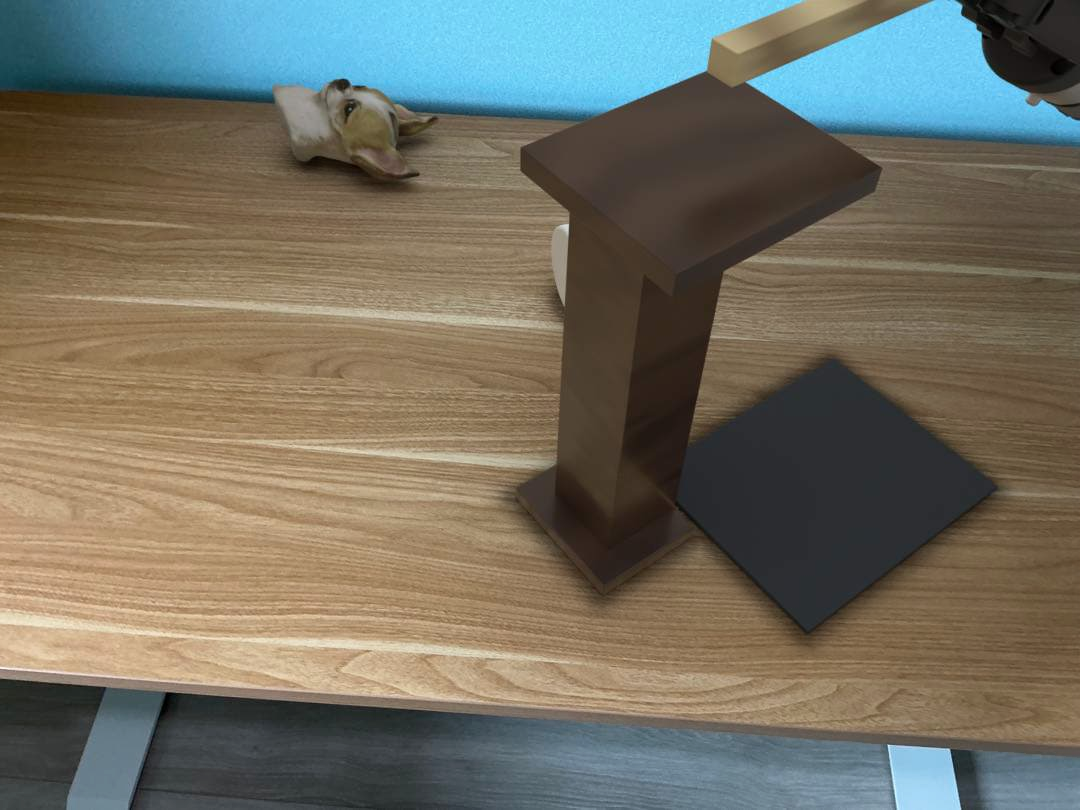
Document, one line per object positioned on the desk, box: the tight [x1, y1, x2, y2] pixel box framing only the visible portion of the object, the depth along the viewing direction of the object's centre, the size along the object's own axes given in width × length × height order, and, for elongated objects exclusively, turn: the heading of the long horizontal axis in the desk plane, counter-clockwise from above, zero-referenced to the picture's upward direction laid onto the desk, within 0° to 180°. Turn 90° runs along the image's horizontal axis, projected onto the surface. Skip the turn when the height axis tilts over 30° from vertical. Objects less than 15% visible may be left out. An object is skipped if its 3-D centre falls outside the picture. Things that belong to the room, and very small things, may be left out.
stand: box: [514, 70, 883, 597], centre depth 61 cm, size 12×15×28 cm
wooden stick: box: [706, 0, 935, 87], centre depth 51 cm, size 20×2×2 cm, turn 127°
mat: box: [675, 357, 999, 635], centre depth 73 cm, size 16×20×1 cm
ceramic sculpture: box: [271, 78, 440, 181], centre depth 95 cm, size 11×9×15 cm
